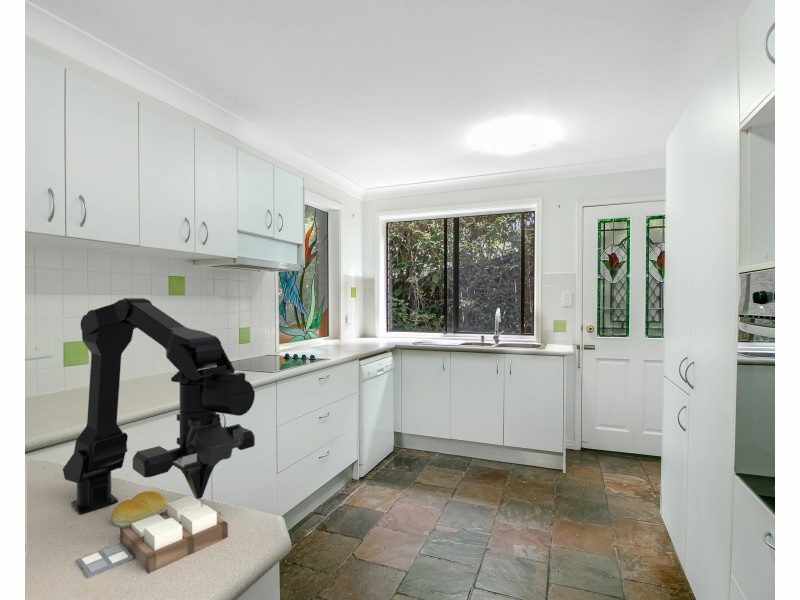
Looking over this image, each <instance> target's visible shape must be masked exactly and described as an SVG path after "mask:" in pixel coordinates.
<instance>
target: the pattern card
mask: <svg viewBox="0 0 800 600" xmlns="http://www.w3.org/2000/svg"><path fill="white" fill-rule="evenodd" d="M133 559H134V557H133V555H132V554H131V553H130V552H129V551H128V550H127V549H126V548H125V547H124V546H123V545H122V544H121V543H120V542H117V543H116V544H113V545H111V546H107V547H106V548H103V549H101V550H98V551H95V552H92V553H90V554H87V555H84V556H82V557H79V558H77V559H76V563H77V565H78V566H79V567H80V569H81V570H82V571H83V574H85V576H86V578H87V579H89V578H91V577H93V576H96V575H98V574H101V573H103V572H105V571H108V570H110V569H113V568H114V567H118V566H119V565H122V564H124V563H127V562H129V561H131V560H133Z"/></svg>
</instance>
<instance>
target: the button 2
mask: <svg viewBox="0 0 800 600" xmlns="http://www.w3.org/2000/svg"><path fill="white" fill-rule="evenodd" d="M181 539H182V525H181V524H179V523H178V522H177V521H176V520H174V519H173V518H172V517H171V518H169V519H166V520H163V521H161V522H158V523H155V524H153V525H150V526H147V527H145V528H144V543H145V544H146V545H147V546H148V547H149V548H150V549H152V550H153V551H155V550H157V549H160V548H162V547H165V546H167V545H169V544H172V543H174V542H176V541H179V540H181Z"/></svg>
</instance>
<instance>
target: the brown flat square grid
mask: <svg viewBox="0 0 800 600" xmlns="http://www.w3.org/2000/svg"><path fill="white" fill-rule="evenodd" d="M201 506H203V505H202V504H201ZM159 515H160V516H161V517H162V518H164V519H165V520H166V519H169V517H168V515H167V510H166V511H165V512H163V513H160V514H159ZM178 523H179V524H181V522H178ZM228 524H229V523H228V522H227V521H225V520H224V519H222V518H221V517H219V516H218V515H217V525H214V526H212V527H210V528H207V529H205V530H203V531H200V532H198V533H195V534H193V535H190V534H189V533H188V532H187V531H185V530H184V529H183V528H182V539H181V540H179V541H176V542H174V543H172V544H169V545H167V546H165V547H162V548H160V549H157V550H155V551H153V550H152V549H150V548H149V547H148V546H147V545H146V544H145V543H144V536H143V537H140V538H139V537H138V536H137V535H136V534H135V533H134V532H133V531H132V524H130V525H127V526H125V527H119V528H120V529H119V530H120V534H119V536H120V542H119V543H121V544H122V545H123V546H124V548H125V549H126V550H127V551H128V552H129V553H130V554H131V555H132V556H133V559H135V560H136V561H137V562H138V563H139V564H140V565H141V567H143V569H144V570H145V571H146V572H147V573H148V574H150V573H151V572H152V573H153V572H154V571H157V570H159V569H161V568H163V567H166V566H168V565H170V564H172V563H174V562H177V561H178V560H182V559H183V558H185V557H187V556H189V555H192V554H194V553H196V552H199V551H201V550H203V549H205V548H207V547H209V546H212V545H213V544H214V545H215V544H216V543H219V542H220V541H223V540H225V539H227V538H228V537H229V536H228V535H229V534H228V533H229V530H228Z"/></svg>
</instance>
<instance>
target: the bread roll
mask: <svg viewBox="0 0 800 600" xmlns="http://www.w3.org/2000/svg"><path fill="white" fill-rule="evenodd" d="M167 503H168V502H167V500H166V498H165V497H164V495H162V494H161V493H160V492H157V491H153V490H148V491H147V490H145V491H142V492H139V493H137V494H136V495H135V496H134V497H132V498H131V499H127V500H124V501H121V502H120V503H118V504H117V505H116V506H115V507H114V509H113V510H112V512H111V521H112V523H113V525H114V526H116V527H119V528H122V527H125V526H127V525H130V524H132V523H134V522H137V521H140V520H143V519H145V518H148V517H151V516H154V515H156V514H160V513H163V512H166V511H167Z"/></svg>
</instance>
